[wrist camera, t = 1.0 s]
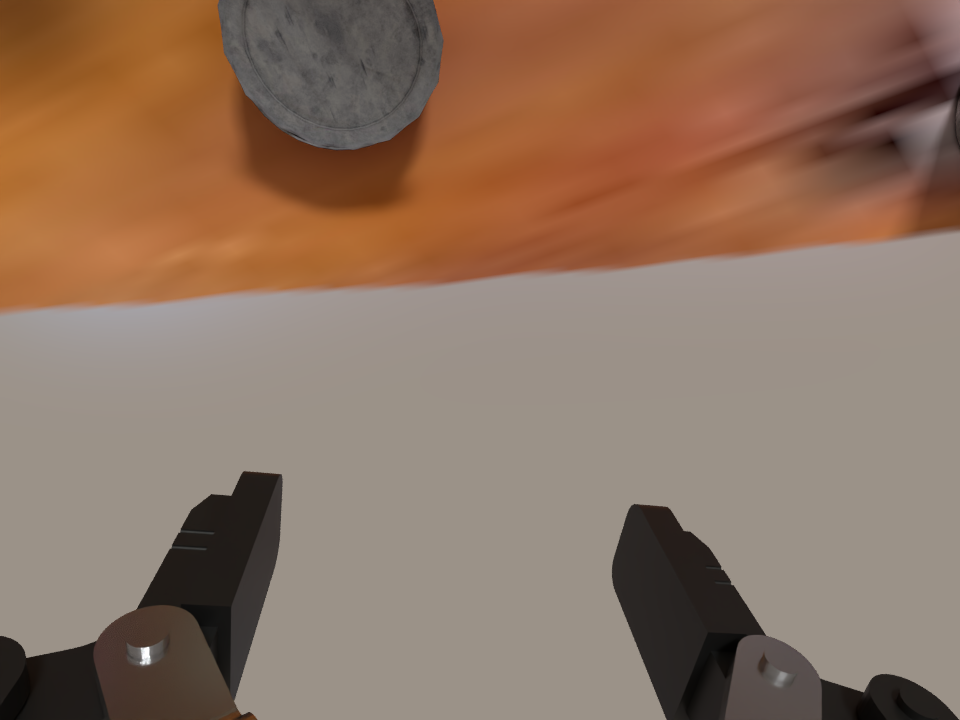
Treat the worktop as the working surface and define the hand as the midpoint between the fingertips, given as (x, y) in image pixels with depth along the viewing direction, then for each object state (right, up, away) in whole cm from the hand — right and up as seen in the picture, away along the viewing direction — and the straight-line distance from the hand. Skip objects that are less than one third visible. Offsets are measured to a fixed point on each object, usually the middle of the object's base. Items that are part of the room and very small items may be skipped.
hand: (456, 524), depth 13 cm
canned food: (-7, +20, +19) cm, 29 cm away
